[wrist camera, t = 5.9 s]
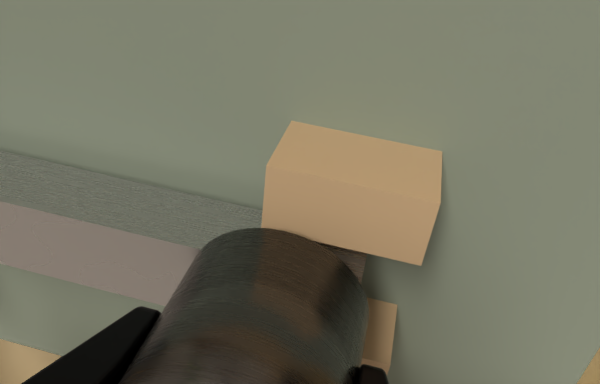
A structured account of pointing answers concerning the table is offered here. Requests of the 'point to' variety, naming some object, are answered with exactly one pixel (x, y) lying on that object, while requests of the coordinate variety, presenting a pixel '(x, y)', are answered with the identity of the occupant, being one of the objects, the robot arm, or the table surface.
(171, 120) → the pitch
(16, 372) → the table surface
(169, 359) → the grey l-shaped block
